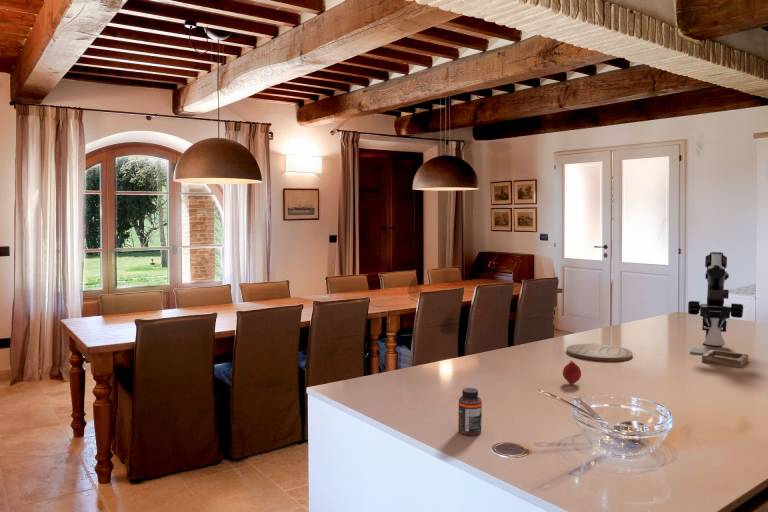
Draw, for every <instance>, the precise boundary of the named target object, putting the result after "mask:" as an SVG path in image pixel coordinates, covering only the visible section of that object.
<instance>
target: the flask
mask: <svg viewBox="0 0 768 512" xmlns="http://www.w3.org/2000/svg"><path fill="white" fill-rule="evenodd" d="M710 320H711V325H710V329H709V332H708V334H707V337H706V339H704V342H703V343H704V344H708V345H707V346H710V345H716V346H715V347H718V346H719V347H721V346H725V344H726V342H725V340H724V338H723V335H722V332H721V331H720V329H721V328H719V320H720V318H710ZM720 345H721V346H720Z"/></svg>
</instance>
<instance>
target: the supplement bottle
mask: <svg viewBox="0 0 768 512" xmlns="http://www.w3.org/2000/svg"><path fill="white" fill-rule="evenodd" d="M482 403H483V402H482V398H481V397H480V396H479V389H477V388H475V387H464V388H463V389H462V394H461V396H460V397H459V398H458V418H457V419H458V421H457V422H458V426H457V428H458V432H459V433H460V434H462V435H464V436H469V437H470V436H478V435H479V434H481V433H482V415H483V413H482V411H483V410H482V409H483V407H482Z"/></svg>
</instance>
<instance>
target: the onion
mask: <svg viewBox="0 0 768 512" xmlns="http://www.w3.org/2000/svg"><path fill="white" fill-rule="evenodd" d="M562 377H563V379H565V380H566V381H567V383H569V385H574V384H575V383H577V382H579V380H580V379H581V377H582V370H581V368H580V367H579V366H578V364H576V363H575V362H574V361H573V359H571V360H570V359H569V363H567V364H565V366H564V367H563V370H562Z"/></svg>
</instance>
